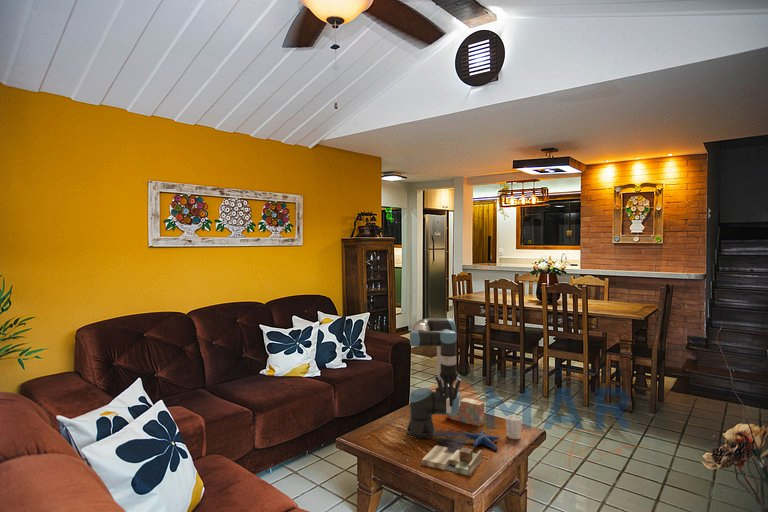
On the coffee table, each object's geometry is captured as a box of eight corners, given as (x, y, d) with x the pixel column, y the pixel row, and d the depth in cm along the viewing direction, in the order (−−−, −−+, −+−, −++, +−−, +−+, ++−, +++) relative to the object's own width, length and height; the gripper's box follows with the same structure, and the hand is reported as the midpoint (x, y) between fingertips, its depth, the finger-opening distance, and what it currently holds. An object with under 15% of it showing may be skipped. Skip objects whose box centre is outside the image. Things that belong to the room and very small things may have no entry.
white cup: (503, 434, 244) (503, 415, 244) (518, 433, 245) (518, 414, 245) (509, 440, 236) (508, 420, 236) (523, 439, 237) (523, 420, 237)
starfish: (483, 456, 218) (483, 446, 218) (457, 442, 234) (457, 433, 234) (511, 447, 228) (511, 437, 228) (485, 434, 244) (485, 425, 244)
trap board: (422, 464, 211) (421, 454, 211) (436, 450, 226) (436, 441, 225) (470, 475, 200) (470, 465, 199) (481, 460, 214) (481, 450, 214)
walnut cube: (459, 461, 208) (459, 451, 208) (463, 457, 212) (462, 447, 212) (469, 463, 206) (469, 453, 206) (472, 459, 210) (472, 449, 210)
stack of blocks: (446, 418, 268) (445, 397, 268) (451, 415, 273) (451, 394, 273) (479, 426, 255) (479, 404, 255) (484, 423, 260) (484, 401, 259)
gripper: (432, 363, 218) (433, 412, 219) (458, 367, 211) (459, 417, 213) (438, 359, 224) (438, 407, 225) (464, 363, 218) (464, 411, 219)
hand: (448, 412), depth 219 cm, fingers closed
